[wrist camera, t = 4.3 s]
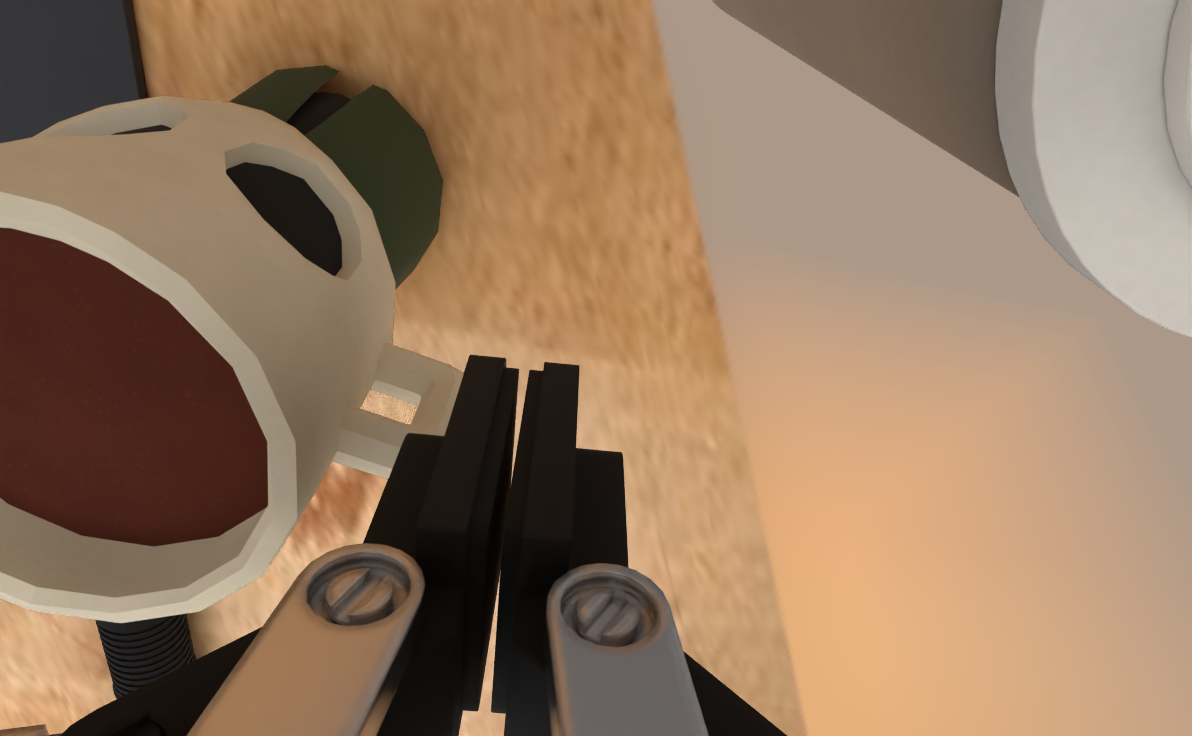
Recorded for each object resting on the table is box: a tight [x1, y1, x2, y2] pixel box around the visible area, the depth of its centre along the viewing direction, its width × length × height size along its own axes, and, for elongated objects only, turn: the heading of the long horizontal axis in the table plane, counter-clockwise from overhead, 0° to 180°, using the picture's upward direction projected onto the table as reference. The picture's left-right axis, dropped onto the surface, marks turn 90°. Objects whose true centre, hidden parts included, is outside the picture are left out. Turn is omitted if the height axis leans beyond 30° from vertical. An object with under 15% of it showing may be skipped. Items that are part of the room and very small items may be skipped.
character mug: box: [0, 65, 464, 623], centre depth 16 cm, size 11×7×13 cm, turn 68°
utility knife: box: [96, 614, 197, 699], centre depth 31 cm, size 22×4×3 cm, turn 173°
